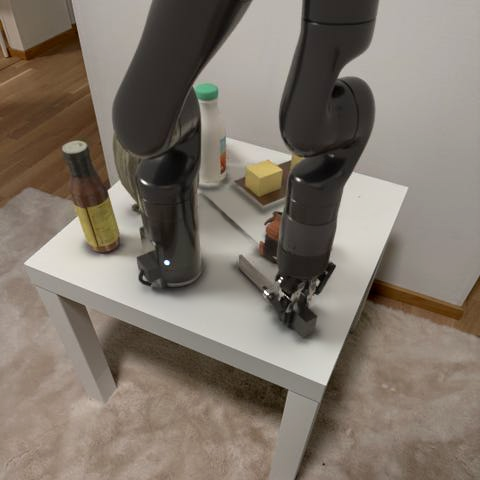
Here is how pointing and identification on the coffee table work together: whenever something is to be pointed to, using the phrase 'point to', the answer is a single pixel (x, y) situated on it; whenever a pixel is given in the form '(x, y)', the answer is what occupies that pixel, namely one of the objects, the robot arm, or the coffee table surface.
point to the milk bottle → (211, 135)
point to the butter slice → (295, 160)
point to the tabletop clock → (128, 170)
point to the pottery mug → (271, 237)
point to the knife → (301, 315)
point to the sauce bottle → (91, 199)
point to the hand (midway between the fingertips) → (292, 318)
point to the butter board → (275, 194)
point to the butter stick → (263, 177)
